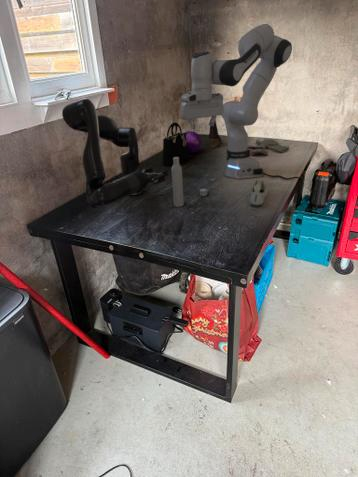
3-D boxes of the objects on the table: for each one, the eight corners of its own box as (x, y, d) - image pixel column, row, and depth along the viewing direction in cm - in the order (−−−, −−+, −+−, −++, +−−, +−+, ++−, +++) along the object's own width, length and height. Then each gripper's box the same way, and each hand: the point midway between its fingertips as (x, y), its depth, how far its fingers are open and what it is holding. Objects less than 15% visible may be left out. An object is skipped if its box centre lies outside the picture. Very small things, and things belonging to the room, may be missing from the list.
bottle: (185, 204, 157) (183, 157, 146) (177, 207, 155) (174, 160, 144) (180, 201, 161) (177, 155, 149) (171, 204, 159) (168, 157, 147)
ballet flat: (269, 188, 169) (270, 173, 165) (265, 208, 149) (266, 191, 145) (252, 187, 171) (253, 172, 167) (246, 206, 151) (247, 190, 147)
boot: (222, 140, 259) (222, 113, 249) (219, 148, 239) (219, 120, 229) (211, 140, 261) (211, 114, 251) (207, 148, 241) (207, 120, 231)
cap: (208, 193, 168) (208, 188, 167) (206, 196, 165) (206, 191, 164) (200, 192, 169) (200, 188, 168) (198, 195, 166) (198, 191, 165)
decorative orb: (204, 151, 235) (204, 129, 228) (194, 156, 225) (193, 134, 217) (186, 149, 243) (186, 128, 235) (175, 154, 232) (174, 132, 224)
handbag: (173, 167, 207) (170, 126, 195) (161, 165, 212) (158, 125, 199) (189, 158, 222) (188, 119, 209) (178, 157, 226) (176, 119, 214)
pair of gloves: (254, 158, 215) (254, 150, 212) (233, 149, 235) (233, 142, 233) (291, 151, 224) (292, 143, 222) (268, 143, 245) (268, 136, 242)
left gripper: (144, 177, 124) (171, 165, 134) (118, 171, 131) (146, 160, 142) (146, 195, 127) (173, 182, 138) (121, 188, 135) (148, 176, 146)
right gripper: (219, 92, 149) (219, 123, 156) (177, 96, 143) (179, 129, 150) (226, 93, 144) (225, 125, 151) (183, 97, 138) (184, 131, 145)
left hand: (159, 171), depth 140 cm, fingers open, 8 cm apart
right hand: (202, 127), depth 150 cm, fingers open, 8 cm apart
